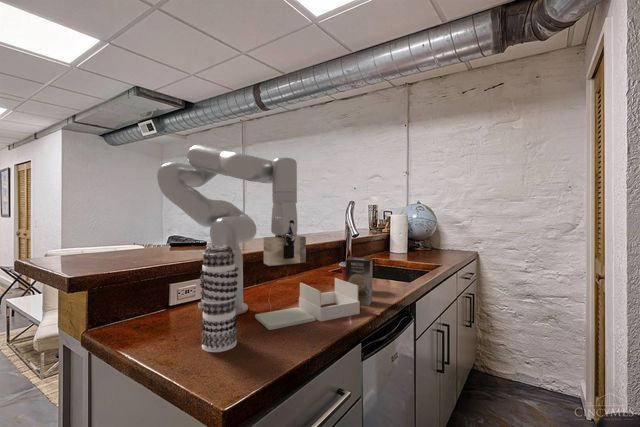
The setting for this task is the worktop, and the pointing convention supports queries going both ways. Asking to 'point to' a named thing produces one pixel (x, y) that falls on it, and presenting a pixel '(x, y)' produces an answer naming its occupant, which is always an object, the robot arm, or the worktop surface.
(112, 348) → the worktop surface
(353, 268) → the coffee box
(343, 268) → the plastic cup
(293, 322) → the sage board
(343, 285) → the carton
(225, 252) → the decorative candle
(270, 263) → the birch box
